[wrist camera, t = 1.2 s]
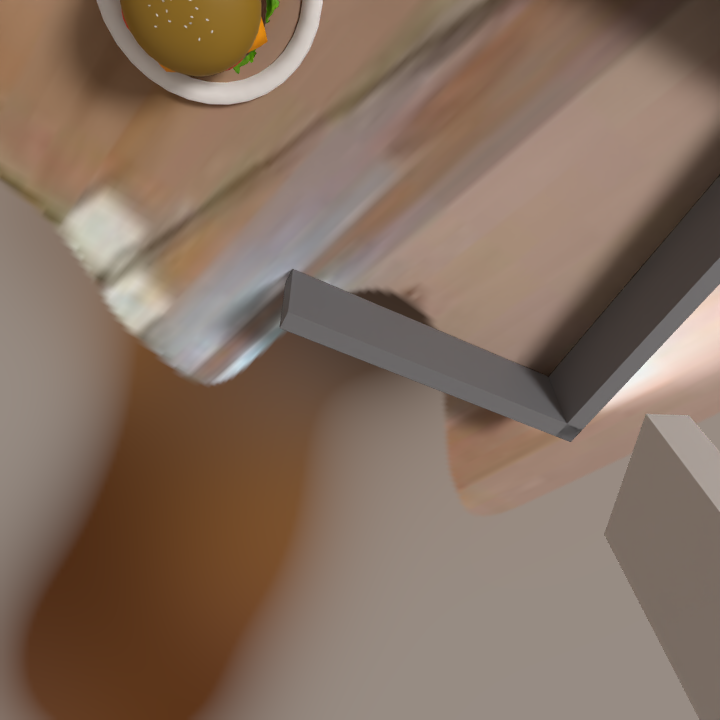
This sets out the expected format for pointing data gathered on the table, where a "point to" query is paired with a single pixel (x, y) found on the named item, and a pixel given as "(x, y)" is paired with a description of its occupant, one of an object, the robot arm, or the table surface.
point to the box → (506, 378)
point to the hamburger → (206, 43)
